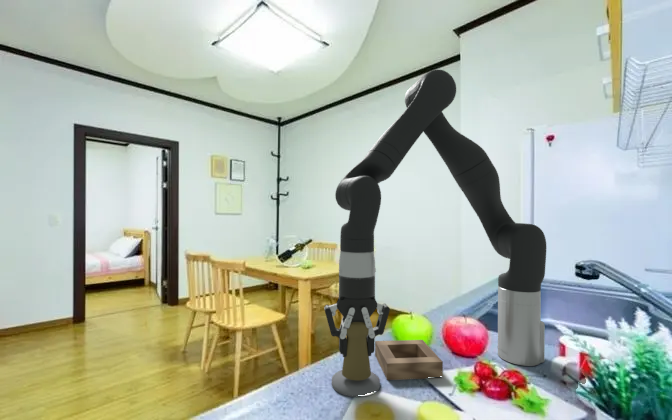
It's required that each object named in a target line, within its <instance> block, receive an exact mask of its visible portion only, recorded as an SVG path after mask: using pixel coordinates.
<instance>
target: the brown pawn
mask: <svg viewBox="0 0 672 420" xmlns="http://www.w3.org/2000/svg"><path fill="white" fill-rule="evenodd" d="M347 323H348V322H347ZM368 333H369V328H367V327H366V324H365V323H363V322H353V323H351V324H350V327H349V329H347V334H346V339H347V356H346V357H343V362H342V367H341V368H342V369H341V370H342V375H343V376H344V377H345V378H347V379H350V380H365V379H367V378H369V377H370V375H371V372H372V371H371V370H372V369H371V363H370V356H368V345H367V335H368Z"/></svg>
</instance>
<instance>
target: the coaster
mask: <svg viewBox="0 0 672 420" xmlns="http://www.w3.org/2000/svg"><path fill="white" fill-rule="evenodd" d="M331 387H332V389H333V390H334V391H335V392H337V393H339V394H340V395H343V396H345V397H351V398H357V397H356V396H358V395H365V394H367V393H371V392H374V391H377V392H378V391H379V390H380V387H381V379H380V377H379V376H378V375H377V374H376V373H375V372H372V371H371V375H370V377H369V378H367V379H365V380H350V379H347V378H345V377H344V376H343V375H342V369H341V370H339V371H337V372H335V373H334V374H333V375H332V377H331Z"/></svg>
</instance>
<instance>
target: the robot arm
mask: <svg viewBox="0 0 672 420" xmlns="http://www.w3.org/2000/svg"><path fill="white" fill-rule="evenodd" d="M456 96H457V84H456V80H455V79H454V78H453V75H451V74H450V73H449V72H448V71H446V70H444V69H433V70H430V71H428V72H426V73H424V75H422V76H421V77H420V78H419V79H418V80H417V81H415V83H413V84H412V85H411V86H410V87H409V88H408V89H407V91H406V92H405V95H404V103H405V107H406V108H405V110H404V111H403V112H402V113H401V115H400V116H399V117H398V118H397V119H396V120H395V121H394V122H393V123H391V125H390V126H389V127H388V128H387V129H386V130H385V131H384V132H383V133H382V135H381V136H379V138H378V139H377V141H375V143H373V145H372V146H371V148H370V149H369V151H368V152H367V153H366V155H365V156H364V158H363V159H361V161H360V162H359V163H357V164H356V165H354V167H353V168H352V169H351V170H349V172H348V173H346V175H344V177H343V178H341V180H340V181H339V183H338V185H337V187H336V189H335V195H334V196H335V197H334V198H335V201H336V202H337V203H336V204H338V206H339V207H340V208H341V209H343V210H345V211H349V215H348V220H347V222H345V223H344V224H342V225H341V228H340V236H339V237H340V238H339V239H340V241H339V242H340V245H339V246H340V249H339V251H340V253H339V260H338V299H337V301H336V303H334V304H325V305H324V307H323V308H324V313H325V316H326V320H327V324H328V327H329V330H330V331H329V332H330V334H331V336H332V337H337V338H338V350H339V353H340V355H342V358H344V357H346V356H347V336H346V334H347V329H349V327H350V324H351V323H353V322H363V323H365V324H366V327H367V328H369V333H368V335H367V345H368V356H369V357H371V356H372V354H375V338H376V337H377V336H379V335H380V336H382V335H383V334H384V332H385V330H386V324H387V323H388V322H387V321H388V318H389V314H390V311H391V309H390V307H389V306H388V305H387V304H386V303H378V302H377V300H376V272H377V271H376V270H377V269H376V260H375V259H376V258H375V228H376V225H377V221H378V218H379V213H380V209H381V204H382V191H381V188H380V185H379V184H380V183H382V182H384V181H386V180H388V179H390V177H391V176H392V175H393V174H394V172H395V171H396V169H397V168H398V166H400V164H401V162H402V161H403V159H404V158H405V157H406V156H407V154H408V153H409V151H410V150H411V148H412V147H413V146H414V144H415V143H417V140H418V139H419V138H420V137H421V135H422V134H423V133H424V134H425V136H426V137H427V139H428V140H429V141H430V142H431V144H432V145H433V147H434V149H435V150H436V152H437V153H438V154H439V156H440V157H441V160H442V161H443V162H444V164H445V166H446V167H447V168H448V170H449V173H450V174H451V175H452V177H453V180H454V181H455V183H456V184H457V186H458V187H459V189H460V190H461V191H462V193H463V195H464V196H465V198H466V199H467V201H468V203H469V204H470V206H471V208H472V209H473V211H474V213H475V214H476V216H477V217H478V219H479V221H480V223H481V225H482V227H483V230H484V232H485V233H486V236H487V238H488V240H489V242H490V244H491V246H492V248H493V250H495V252H496V253H497V254H498V255H499V256H501V257H503V258H505V259H509V265H508V266H509V267H508V270H507V271H506V272H503V273H501V274H499V275H498V278H497V356H498V357H499V358H501V359H502V360H504V361H506V362H509V363H511V364H515V365H517V366H518V365H519V366H525V367H534V366H538V365H540V364H541V363H545V354H546V353H545V349H546V348H545V341H546V340H545V339H546V338H545V336H546V334H545V332H546V331H545V330H546V329H545V325H546V324H545V322H544V321H542V319H541V318H542V316H541V315H542V311H541V308H542V307H541V306H542V305H541V299H542V298H541V297H542V296H541V295H542V293H541V290H542V283H543V282H544V279H545V277H546V276H545V275H546V264H547V263H546V261H547V259H546V258H547V241H546V239H547V238H546V236H545V234H544V231H543V230H542V229H541V228H540V227H539V226H537V225H535V224H532V223H523V222H521V223H518V222H515V220H513V218H512V217H511V215H510V214H509V212H508V211H507V209H506V207H505V206H504V203H503V201H502V195H501V183H500V177H499V173H498V171H497V169H496V167H495V165H494V164H493V162H492V161H491V159H490V157H489V155H488V154H487V152H486V151H485V150H484V148H482V146H481V145H479V144H478V143H476V142H475V141H473V140H472V139H470V138H468V137H467V136H465V135H464V134H462V133H461V132H459V131H457V130H456V128H454V127H453V126H452V125H451V123H450V122H449V121H448V119H447V118H446V116H445V114H444V113H443V111H444V110H446V109H447V108H448V107H450V105H451V104H452V103H453V101H454V100H455V98H456ZM337 310H338V312H339V313H340V314H341V315H342V318H341V323H340V326H339V328H337V327H336V325H335V321H334V317H335V316H336V312H337ZM376 310H377V313H378V317H377V321H376V325H375V326H374V327H373V324H372V321H371V317H372V315H373V314H374V312H375V311H376ZM347 322H348V323H347Z"/></svg>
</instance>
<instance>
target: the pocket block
mask: <svg viewBox="0 0 672 420" xmlns="http://www.w3.org/2000/svg"><path fill="white" fill-rule="evenodd" d="M374 356H375V358H376V360H377V362H378V364H379V366H380V369H381V370H382V373H383V374H384V377H385V379H386V380H387V381H399V380H400V381H401V380H423V379H424V380H425V379H426V378H428V377H440V376H444V374H443V373H444V372H443V371H444V369H443V367H444V362H443V360H442V359H441V358H440V357H439V356H438V355H437V354H436V353H435V352H434V350H433V349H432V348H431V347H430V346H429V345H428V344H427V343H426V342H425V341H424V340H423V339H407V340H406V339H405V340H399V339H398V340H374Z"/></svg>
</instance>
